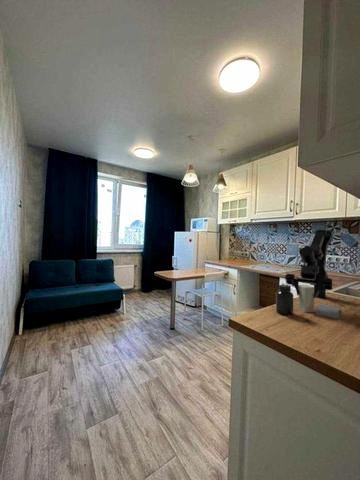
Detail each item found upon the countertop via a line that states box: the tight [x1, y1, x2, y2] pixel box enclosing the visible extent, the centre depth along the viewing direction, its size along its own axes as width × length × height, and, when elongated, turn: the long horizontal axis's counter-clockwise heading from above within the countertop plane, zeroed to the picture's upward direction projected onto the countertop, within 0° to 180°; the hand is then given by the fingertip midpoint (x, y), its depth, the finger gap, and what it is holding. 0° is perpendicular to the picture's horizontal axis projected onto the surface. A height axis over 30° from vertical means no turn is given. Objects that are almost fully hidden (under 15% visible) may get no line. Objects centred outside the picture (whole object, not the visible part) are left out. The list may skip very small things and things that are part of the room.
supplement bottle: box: [275, 284, 294, 316], centre depth 91 cm, size 7×7×12 cm
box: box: [298, 284, 315, 313], centre depth 95 cm, size 5×4×11 cm
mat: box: [315, 303, 340, 320], centre depth 93 cm, size 14×8×1 cm, turn 142°
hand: (305, 296), depth 94 cm, fingers closed on box, 6 cm apart
